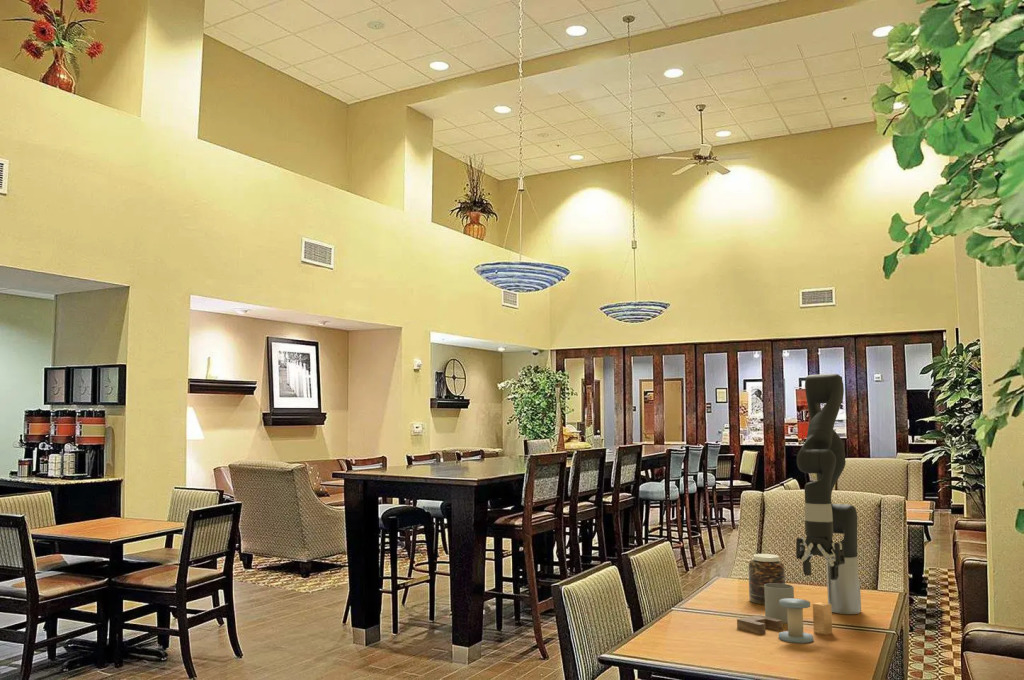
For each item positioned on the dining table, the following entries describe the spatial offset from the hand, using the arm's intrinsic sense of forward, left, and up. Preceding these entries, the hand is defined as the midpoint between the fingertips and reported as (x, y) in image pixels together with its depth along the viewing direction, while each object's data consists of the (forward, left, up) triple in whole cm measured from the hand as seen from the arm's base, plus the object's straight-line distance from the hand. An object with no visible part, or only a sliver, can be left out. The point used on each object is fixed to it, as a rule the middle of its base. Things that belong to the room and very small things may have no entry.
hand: (820, 577), depth 232 cm
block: (0, 0, -15) cm, 15 cm away
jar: (-21, -36, -16) cm, 44 cm away
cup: (-3, -17, -16) cm, 23 cm away
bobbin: (+12, 0, -15) cm, 19 cm away
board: (+11, -13, -15) cm, 23 cm away
